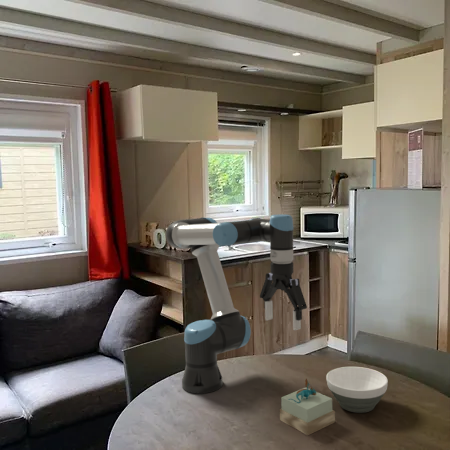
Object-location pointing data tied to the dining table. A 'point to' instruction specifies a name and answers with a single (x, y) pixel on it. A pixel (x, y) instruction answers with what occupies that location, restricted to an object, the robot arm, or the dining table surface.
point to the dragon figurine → (305, 392)
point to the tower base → (310, 426)
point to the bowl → (357, 387)
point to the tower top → (307, 406)
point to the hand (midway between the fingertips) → (282, 324)
